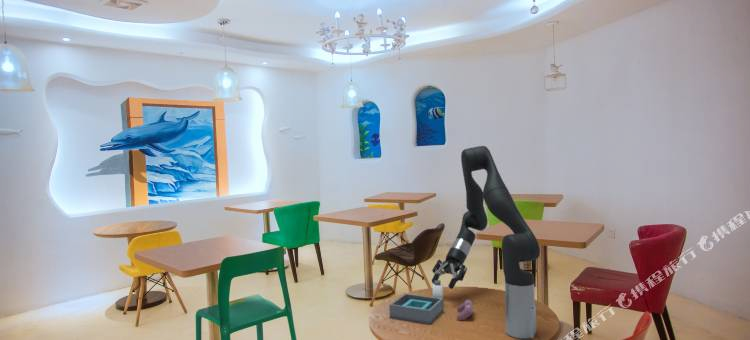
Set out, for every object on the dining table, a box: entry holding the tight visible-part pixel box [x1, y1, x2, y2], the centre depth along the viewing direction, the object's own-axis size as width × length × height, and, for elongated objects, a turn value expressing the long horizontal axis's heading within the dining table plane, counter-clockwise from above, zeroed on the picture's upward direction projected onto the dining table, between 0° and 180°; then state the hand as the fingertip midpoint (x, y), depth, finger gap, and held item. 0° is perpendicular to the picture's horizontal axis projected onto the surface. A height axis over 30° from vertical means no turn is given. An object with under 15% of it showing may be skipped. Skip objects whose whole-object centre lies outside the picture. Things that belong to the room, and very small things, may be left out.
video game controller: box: [456, 299, 474, 321], centre depth 164 cm, size 10×5×7 cm, turn 169°
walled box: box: [388, 293, 445, 326], centre depth 167 cm, size 16×14×5 cm
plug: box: [432, 279, 444, 300], centre depth 175 cm, size 4×4×10 cm
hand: (441, 285), depth 177 cm, fingers open, 8 cm apart
